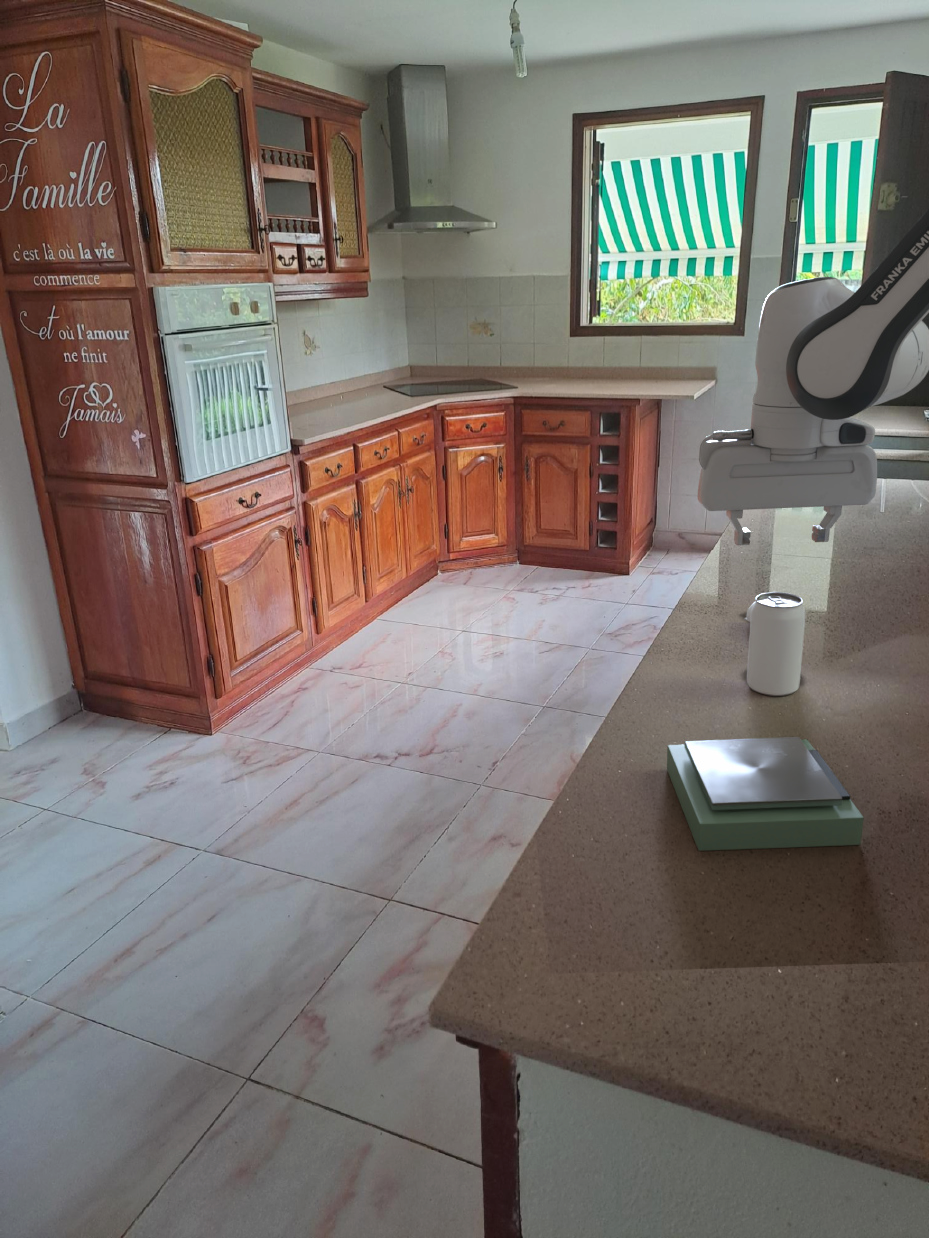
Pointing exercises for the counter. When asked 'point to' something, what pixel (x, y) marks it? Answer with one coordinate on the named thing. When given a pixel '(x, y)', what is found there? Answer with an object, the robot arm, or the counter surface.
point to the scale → (762, 815)
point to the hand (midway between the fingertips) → (780, 542)
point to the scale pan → (760, 774)
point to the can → (776, 644)
